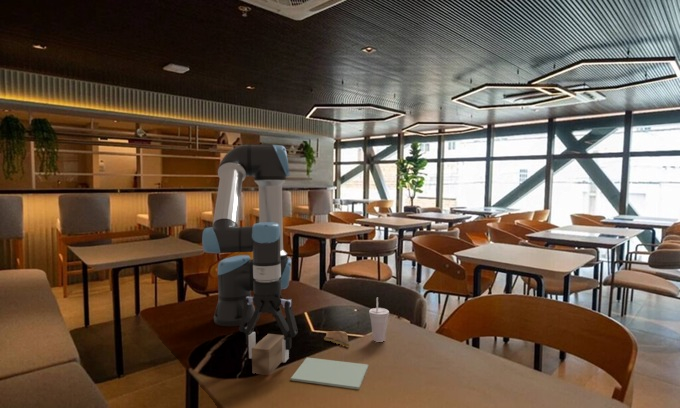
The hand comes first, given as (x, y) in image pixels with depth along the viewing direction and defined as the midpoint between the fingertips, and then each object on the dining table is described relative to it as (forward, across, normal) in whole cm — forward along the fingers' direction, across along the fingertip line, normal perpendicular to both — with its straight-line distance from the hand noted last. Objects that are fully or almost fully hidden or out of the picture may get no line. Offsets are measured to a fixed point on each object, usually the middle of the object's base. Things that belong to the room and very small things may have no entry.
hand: (268, 358), depth 108 cm
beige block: (+2, 0, 0) cm, 2 cm away
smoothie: (+2, +27, +24) cm, 36 cm away
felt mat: (+2, +18, 0) cm, 18 cm away
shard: (+3, +15, +22) cm, 27 cm away
